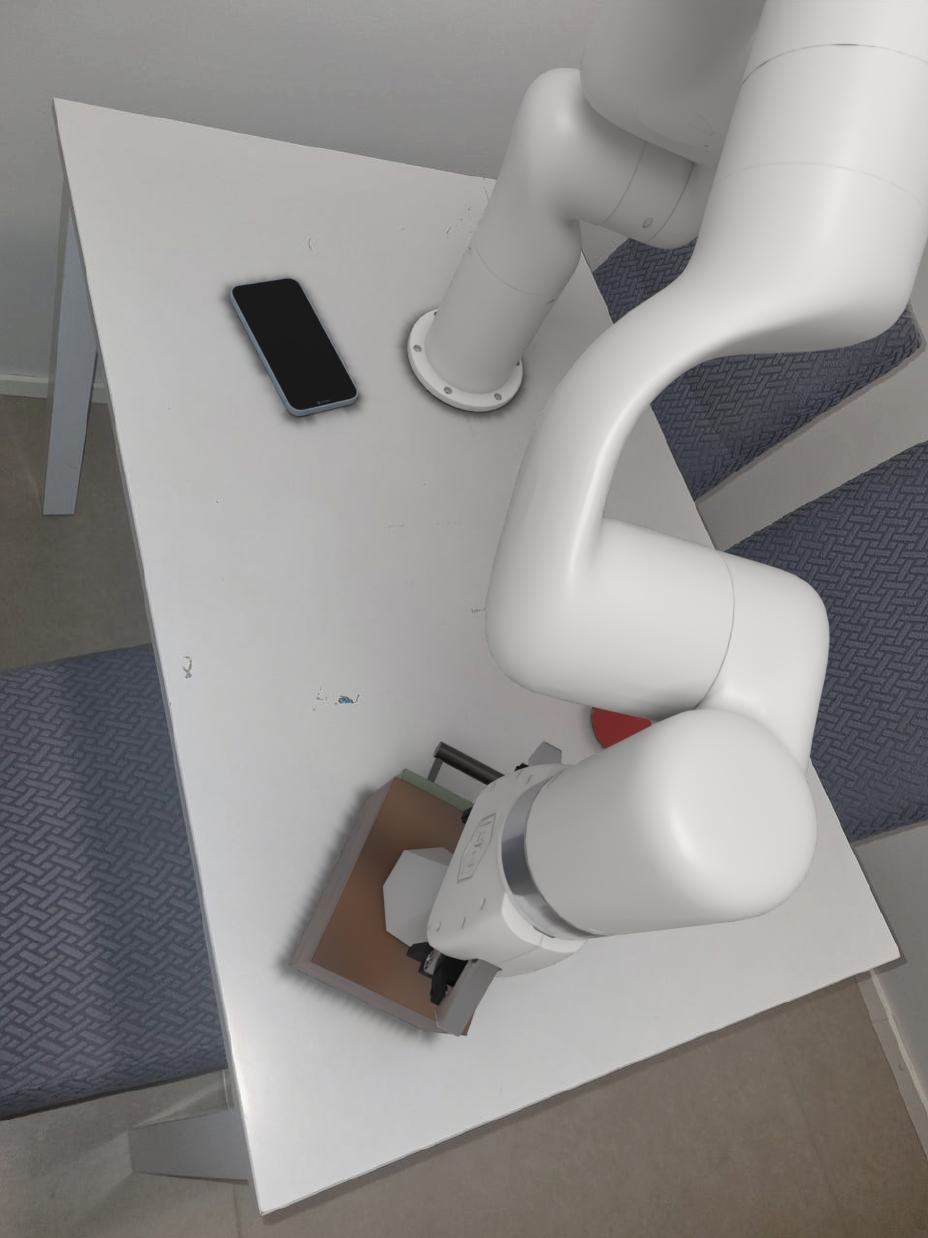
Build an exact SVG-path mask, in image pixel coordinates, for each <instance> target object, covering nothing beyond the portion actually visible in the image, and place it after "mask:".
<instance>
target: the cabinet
mask: <svg viewBox="0 0 928 1238" xmlns="http://www.w3.org/2000/svg"><path fill="white" fill-rule="evenodd" d="M463 812H464V811H462V810H460V809H458V808H456V807H454V806H452V805H450V804H448V803H446V802H444V801H442V800H440V799H439V798H437V797H435V796H433V795H431V794H429V793H427V792H425V791H423V790H421V789H419V788H417V787H415V786H414V785H412V784H410V783H408V782H406V781H404V780H402V779H400V778H398V777H396V775H395V776H394V777H393V778H391V779H390V780H389V781H387V782H386V783H385V784H383V785H382V786H381V787H380V788H378V789H377V790H376V791H375V792H373V793H372V794H370V795H369V796H368V797H367V798H366V799H365V800H364V802H363V805H362V807H361V809H360V811H359V813H358V815H357V818H356V820H355V822H354V824H353V826H352V828H351V831H350V833H349V835H348V836H347V839H346V841H345V843H344V846H343V847H342V850H341V851H340V854H339V856H338V858H337V860H336V862H335V864H334V867H333V869H332V871H331V873H330V875H329V877H328V879H327V881H326V884H325V886H324V888H323V890H322V892H321V894H320V897H319V898H318V901H317V903H316V905H315V907H314V909H313V912H312V914H311V916H310V918H309V920H308V923H307V925H306V927H305V929H304V931H303V933H302V935H301V937H300V939H299V942H298V944H297V946H296V948H295V950H294V952H293V954H292V957H291V959H290V961H289V963H288V967H289V968H292V969H293V970H296V971H298V972H300V973H302V974H304V975H306V976H308V977H311V978H312V979H315V980H316V981H319V982H321V983H323V984H325V985H327V986H329V987H332V988H334V989H335V990H338V991H340V992H342V993H344V994H346V995H347V996H350V997H352V998H355V999H357V1000H358V1001H361V1002H363V1003H365V1004H367V1005H369V1006H371V1007H373V1008H376V1009H378V1010H380V1011H382V1012H384V1013H386V1014H388V1015H390V1016H392V1017H394V1018H396V1019H399V1020H400V1021H402V1022H405V1023H407V1024H409V1025H411V1026H413V1027H415V1028H418V1029H419V1030H422V1031H424V1032H426V1033H435V1034H444V1035H452V1036H454V1035H453V1034H451V1033H449V1032H446V1031H444V1030H442V1029H440V1028H438V1027H437V1024H436V1016H435V1009H436V1005H435V1004H433V1003H431V1001H430V997H431V995H430V990H431V983H432V979H430V978H428V977H426V976H424V975H422V974H420V973H419V972H418V970H419V967H420V965H421V963H420V962H418V961H416V960H414V959H412V958H410V957H408V956H407V955H406V953H407V951H408V949H409V946H408V945H407V944H405V943H404V942H402V941H401V940H399V939H398V938H396V937H395V936H393V935H392V934H390V933H389V932H388V931H386V919H385V906H384V893H383V885H384V884H385V882H386V880H387V879H388V877H389V875H390V873H391V872H392V870H393V868H394V867H395V865H396V863H397V861H398V860H399V858H400V856H401V855H402V853H403V851H404V850H412V849H426V848H439V847H443V848H445V849H446V850H448V851H449V852H451V853H452V854H454V852H455V849H456V847H457V844H458V842H459V839H460V837H461V835H462V832H463V830H464V827H465V824H464V823H462V819H461V817H462V814H463ZM475 1013H476V1010H475V1011H474V1013H473V1015H472V1017H471V1018H470V1020H469V1022H468V1024H467V1025H466V1027H465V1029H464V1031H463V1032H462V1034H461V1035H460V1036H461V1037H462V1036H463V1037H466V1036H468V1033H469V1030H470V1028H471V1024H472V1021H473V1018H474V1016H475Z"/></svg>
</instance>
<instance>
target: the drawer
mask: <svg viewBox="0 0 928 1238" xmlns="http://www.w3.org/2000/svg"><path fill="white" fill-rule="evenodd" d="M432 757H433V758H434V760H433V762H432V765H431V767H430V770H429V772H428V774H427V776H426V777H423V776H421V775H420V774H418V773H416V772H414V771H413V770H411V769H408V768H407V767H405V768H404V769H403V770H401V771H400V772H399V773H397V774H396V775H395V776H396V777H398V778H400V779H402V780H404V781H406V782H408V783H410V784H412V785H414V786H415V787H417V788H419V789H421V790H423V791H425V792H427V793H429V794H431V795H433V796H435V797H437V798H439V799H440V800H442V801H444V802H446V803H448V804H450V805H452V806H454V807H456V808H458V809H460V810H462V811H465V810H467V809H468V808H470V807H472V806H474V804H475V802H472V801H470V800H468V799H466V798H465V797H463V796H460V795H458V794H456V793H454V792H453V791H451V790H449V789H446V788H445V787H443V786H441V785H439V784H437V783H436V780H437V778H438V775H439V773H440V770H441V769H442V766H443V763H444V764H445V765H447V766H449V767H452V768H453V769H455V770H457V771H458V772H461V773H462V774H465V775H466V776H468V777H470V778H472V779H474V780H476V781H478V782H479V783H481V784H483V785H485V786H487V785H489V784H490V783H492V782H493V781H495V780H497V779H499V778H501V777H503V776H505V775H506V774H505V773H502V772H500V771H499V770H497V769H495V768H493V767H491V766H489V765H487V764H485V763H483V762H482V761H479V760H478V759H476V758H474V757H472V756H470V755H468V754H467V753H464V752H463V751H461V750H459V749H457V748H455V747H454V746H451V745H450V744H447V743H445V742H444V741H439V743H438V744H437V746H436V747H435V749H434V751H433V754H432Z"/></svg>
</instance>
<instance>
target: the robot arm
mask: <svg viewBox="0 0 928 1238" xmlns="http://www.w3.org/2000/svg"><path fill="white" fill-rule="evenodd" d="M587 35H588V36H587V38H586V41H585V43H584V45H583V49H582V54H581V57H580V63H579V68H573V67H558V68H553V69H550V70H546V71H545V72H543V73H542V74H540V75H539V76H538V77H537V78H536V79H534V81H533V82H532V83H531V84H530V85H529V87H528V88H527V90H526V91H525V94H524V96H523V98H522V101H521V102H520V104H519V107H518V110H517V113H516V116H515V119H514V122H513V126H512V129H511V133H510V136H509V140H508V144H507V147H506V151H505V154H504V158H503V161H502V164H501V167H500V170H499V173H498V176H497V180H496V182H495V184H494V187H493V189H492V192H491V194H490V197H489V198H488V201H487V204H486V205H485V208H484V210H483V212H482V215H481V217H480V218H479V221H478V223H477V225H476V227H475V230H474V232H473V234H472V236H471V239H470V240H469V243H468V245H467V246H466V249H465V251H464V254H463V256H462V257H461V260H460V262H459V264H458V266H457V268H456V270H455V273H454V274H453V277H452V279H451V281H450V283H449V285H448V287H447V290H446V291H445V294H444V296H443V298H442V299H441V302H440V305H439V307H438V308H434V309H432V310H429V311H427V312H426V313H424V314H423V315H421V316H420V317H418V319H417V320H416V321H415V323H414V324H413V326H412V329H411V331H410V333H409V336H408V340H407V347H406V349H407V350H406V351H407V357H408V362H409V364H410V367H411V369H412V371H413V373H414V375H415V376H416V378H417V379H418V381H419V382H420V383H421V384H422V386H423V387H424V388H425V389H426V390H428V392H429V393H430V394H432V395H433V396H434V397H435V398H436V399H438V400H440V401H442V402H443V403H445V404H447V405H450V406H451V407H453V408H457V409H459V410H463V411H468V412H476V413H481V412H490V411H494V410H497V409H499V408H502V407H503V406H505V405H507V404H508V403H509V402H510V401H511V400H513V398H514V396H515V395H516V394H517V392H518V390H519V388H520V387H521V384H522V381H523V375H524V367H523V361H522V357H523V355H524V353H525V352H526V350H527V349H528V347H529V345H530V343H531V342H532V340H533V339H534V337H535V336H536V334H537V332H538V331H539V329H540V328H541V327H542V325H543V323H544V322H545V319H546V318H547V317H548V315H549V314H550V312H551V310H552V309H553V308H554V305H555V304H556V302H557V301H558V299H559V298H560V296H561V294H562V293H563V291H564V290H565V288H566V286H567V285H568V283H569V282H570V280H571V279H572V277H573V275H574V274H575V272H576V270H577V268H578V266H579V263H580V260H581V255H582V250H583V249H582V248H583V238H582V230H581V229H582V228H581V222H580V221H582V222H585V223H589V224H592V225H594V226H599V227H602V228H604V229H606V230H608V231H612V232H614V233H617V234H620V235H622V236H624V237H627V238H629V239H632V240H634V241H636V242H639V243H642V244H644V245H647V246H650V247H654V248H657V249H661V250H676V249H678V248H681V247H683V246H686V245H688V244H690V243H691V242H692V241H694V240H695V239H696V243H695V245H694V248H693V251H692V254H691V256H690V258H689V260H688V263H687V264H686V266H685V268H684V269H683V271H682V272H681V274H680V275H679V276H677V278H675V279H673V281H672V282H671V283H669V284H668V285H666V287H664V288H662V289H661V290H660V291H657V293H655V294H653V295H652V296H650V297H648V298H647V299H646V300H645V301H643V302H641V303H640V304H638V305H637V306H635V307H634V308H632V309H631V310H630V311H627V313H626V314H624V315H623V316H622V317H621V318H619V319H618V320H617V321H616V322H615V323H614V324H612V325H610V326H609V327H608V328H607V329H606V330H605V331H604V332H603V333H601V334H600V335H599V336H598V337H597V338H596V339H595V340H594V341H593V342H592V343H591V344H590V345H589V346H588V347H587V348H586V349H585V350H584V352H583V353H582V354H581V355H580V356H579V357H578V358H577V360H575V362H574V363H573V365H572V366H571V367H570V369H569V370H568V371H567V372H566V374H564V376H563V378H562V379H561V381H560V382H559V384H558V385H557V387H556V388H555V389H554V391H553V393H552V395H551V396H550V398H549V399H548V400H547V403H546V405H545V407H544V408H543V410H542V412H541V414H540V415H539V417H538V420H537V421H536V424H535V426H534V428H533V430H532V432H531V435H530V436H529V438H528V442H527V445H526V448H525V451H524V453H523V456H522V459H521V462H520V465H519V469H518V471H517V475H516V480H515V483H514V486H513V490H512V494H511V497H510V501H509V505H508V508H507V511H506V515H505V518H504V522H503V525H502V529H501V532H500V536H499V539H498V543H497V547H496V551H495V555H494V558H493V563H492V566H491V571H490V572H491V573H490V577H489V582H488V587H487V591H486V597H485V607H484V634H485V638H486V644H487V649H488V652H489V654H490V656H491V658H492V661H493V662H494V663H495V665H496V666H497V668H498V669H499V670H500V671H501V673H502V674H503V675H504V676H505V677H506V678H507V679H508V680H510V681H511V682H513V683H514V684H516V685H518V686H519V687H521V688H524V689H526V690H529V691H530V692H532V693H535V694H539V695H542V696H545V697H549V698H553V699H555V700H556V699H557V700H561V701H564V702H568V703H573V704H578V705H582V706H586V707H591V708H594V707H595V708H599V709H604V710H608V711H613V712H617V713H622V714H626V715H630V716H635V717H639V718H644V719H648V720H650V721H651V726H650V727H648V728H646V729H644V730H642V731H640V732H638V733H636V734H634V735H632V736H630V737H628V738H626V739H624V740H622V741H620V742H618V743H616V744H614V745H612V746H610V747H607V748H604V749H603V750H600V751H599V752H596V753H594V754H593V755H591V756H589V757H587V758H585V759H583V760H581V761H578V762H577V763H575V764H573V763H562V758H563V757H562V756H563V751H562V749H560V748H558V747H556V746H554V745H552V744H551V743H549V742H547V741H545V740H543V741H542V742H541V743H540V744H539V745H538V747H537V748H536V749H535V750H534V752H533V753H532V754H531V755H530V756H529V758H528V762H527V764H526V763H524V762H521V763H520V764H519V765H517V766H516V767H515V768H514V769H513V771H512V772H509V773H507V774H504V775H505V776H503V777H501V778H499V779H497V780H495V781H493V782H492V783H490V784H489V785H485V787H483V789H482V790H481V792H480V793H479V795H478V796H477V798H476V800H475V802H474V806H472V807H470V808H468V809H467V810H465V811H464V812H463V814H462V817H461V819H462V823H464V824H465V827H464V830H463V832H462V835H461V837H460V839H459V842H458V844H457V847H456V849H455V852H454V854H453V857H452V859H451V862H450V864H449V867H448V869H447V872H446V875H445V877H444V880H443V882H442V885H441V887H440V890H439V893H438V895H437V898H436V900H435V903H434V906H433V908H432V911H431V914H430V917H429V921H428V925H427V939H428V942H422V943H416V944H412V946H409V949H408V951H407V953H406V955H407V956H408V957H410V958H412V959H414V960H416V961H418V962H420V963H421V965H420V967H419V970H418V972H419V973H420V974H422V975H424V976H426V977H428V978H430V979H432V983H431V990H430V995H431V997H430V1001H431V1003H433V1004H435V1005H436V1009H435V1016H436V1024H437V1027H438V1028H440V1029H442V1030H444V1031H446V1032H449V1033H451V1034H450V1035H452V1034H453V1035H452V1036H454V1037H457V1038H459V1037H460V1036H462V1035H461V1034H462V1032H463V1031H464V1029H465V1027H466V1025H467V1024H468V1022H469V1020H470V1018H471V1017H472V1015H473V1013H474V1011H475V1012H476V1011H477V1008H478V1006H479V1004H480V1003H481V1002H482V999H483V997H484V996H485V994H486V992H487V990H488V989H489V987H490V985H491V983H492V982H493V980H494V978H512V977H517V976H522V975H527V974H531V973H534V972H538V971H541V970H545V969H547V968H549V967H551V966H554V965H556V964H558V963H561V962H562V961H564V960H566V959H568V958H570V957H572V956H573V955H575V954H576V953H578V952H579V951H581V950H582V949H583V948H584V946H585V944H586V943H587V941H588V940H591V939H598V938H608V937H617V936H624V935H633V934H634V935H635V934H642V933H650V932H658V931H659V932H660V931H667V930H674V929H675V930H677V929H683V928H692V927H693V928H694V927H701V926H708V925H717V924H718V925H719V924H726V923H735V922H740V921H744V920H749V919H754V918H757V917H761V916H763V915H766V914H768V913H770V912H772V911H774V910H776V909H777V908H778V907H780V906H781V905H783V904H785V903H786V902H787V901H788V900H789V899H790V898H791V897H792V896H793V895H794V894H795V893H796V892H797V891H798V890H799V889H800V888H801V886H802V885H803V883H804V882H805V879H806V878H807V876H808V875H809V873H810V869H811V868H812V865H813V863H814V859H815V855H816V850H817V845H818V837H819V835H818V834H819V822H818V814H817V807H816V803H815V799H814V795H813V791H812V789H811V785H810V783H809V781H808V772H809V765H810V758H811V750H812V745H813V738H814V735H815V734H814V732H815V728H816V723H817V719H818V713H819V709H820V703H821V699H822V693H823V689H824V684H825V680H826V674H827V668H828V661H829V652H830V651H829V650H830V623H829V619H828V614H827V610H826V606H825V604H824V602H823V599H822V598H821V597H820V595H819V593H818V592H817V591H816V590H815V588H814V587H813V586H812V585H810V584H809V583H808V582H807V581H805V580H803V579H802V578H800V577H799V576H797V575H796V574H793V573H791V572H789V571H786V570H784V569H781V568H778V567H775V566H772V565H769V564H766V563H763V562H758V561H755V560H752V559H748V558H747V557H746V558H745V557H742V556H739V555H735V554H732V553H729V552H725V551H722V550H718V549H715V548H712V547H710V546H707V545H705V544H701V543H697V542H695V541H691V540H688V539H684V538H681V537H678V536H674V535H672V534H668V533H664V532H661V531H658V530H655V529H651V528H648V527H645V526H642V525H638V524H634V523H631V522H628V521H625V520H622V519H619V518H614V517H611V516H607V515H604V511H605V507H606V504H607V500H608V496H609V492H610V490H611V489H610V488H611V485H612V482H613V479H614V476H615V472H616V469H617V466H618V463H619V461H620V458H621V456H622V453H623V451H624V449H625V446H626V444H627V442H628V439H629V437H630V436H631V434H632V433H633V431H634V429H635V427H636V426H637V424H638V423H639V421H640V419H641V418H642V416H643V414H644V413H645V412H646V410H647V409H648V408H649V406H650V405H651V404H652V402H653V401H655V399H657V397H658V396H659V395H660V394H661V393H662V392H663V391H664V390H665V389H666V388H667V387H668V386H669V385H670V384H671V383H673V382H674V381H675V380H677V379H678V378H679V377H681V376H682V375H683V374H684V373H686V372H688V371H689V370H691V369H693V368H695V367H696V366H698V365H701V364H703V363H706V362H708V361H712V360H716V359H719V358H725V357H732V356H745V355H763V354H764V355H765V354H790V353H809V352H819V351H826V350H827V351H828V350H834V349H842V348H847V347H851V346H854V345H857V344H858V345H859V344H860V343H861V344H862V343H863V342H866V341H870V340H872V339H874V338H876V337H878V336H880V335H882V334H884V333H885V332H886V331H888V330H889V329H890V328H891V327H893V326H894V325H895V324H896V323H897V322H898V320H899V319H900V317H901V316H902V314H903V313H904V311H905V310H906V308H907V305H908V303H909V301H910V299H911V295H912V293H913V289H914V286H915V282H916V279H917V275H918V272H919V267H920V264H921V261H922V259H923V254H924V252H925V248H926V245H927V242H928V0H606V2H605V4H604V5H603V7H602V8H601V10H600V12H599V14H598V16H597V17H596V19H595V21H594V23H593V24H592V26H591V29H590V31H589V33H588V34H587ZM474 1014H475V1013H474Z"/></svg>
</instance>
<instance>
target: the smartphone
mask: <svg viewBox="0 0 928 1238" xmlns="http://www.w3.org/2000/svg"><path fill="white" fill-rule="evenodd" d="M229 300H230V302H231V305H232V306H233V308H234V310H235V312H236V314H237V316H238V317H239V320H240V321H241V323H242V325H243V328H244V329H245V331H246V333H247V335H248V337H249V338H250V341H251V343H252V345H253V347H254V348H255V350H256V352H257V354H258V356H259V358H260V360H261V363H262V364H263V366H264V368H265V370H266V372H267V373H268V376H269V377H270V379H271V382H272V383H273V386H274V388H275V389H276V391H277V393H278V395H279V397H280V399H281V401H282V403H283V404H284V407H285V408H286V410H287V411H288V412H289V413H290V414H292V415H293V416H297V417H302V416H307V415H311V414H316V413H319V412H324V411H329V410H332V409H336V408H340V407H345V406H349V405H352V404H354V403H355V402H356V400H357V397H358V395H359V389H358V387H357V385H356V382H354V379H353V378H352V376H351V374H350V372H349V370H348V368H347V367H346V365H345V363H344V361H343V359H342V358H341V355H340V354H339V352H338V350H337V349H336V346H335V344H334V343H333V341H332V338H331V337H330V335H329V333H328V332H327V330H326V328H325V326H324V324H323V322H322V320H321V319H320V317H319V315H318V313H317V311H316V310H315V308H314V306H313V304H312V302H311V300H310V298H309V296H308V295H307V293H306V291H305V289H304V287H303V285H302V284H301V283H300V281H299V280H298V279H296V278H294V277H288V276H287V277H279V278H273V279H266V280H259V281H252V282H247V283H241V284H235V285H233V286H232V288H230V295H229Z"/></svg>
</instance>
